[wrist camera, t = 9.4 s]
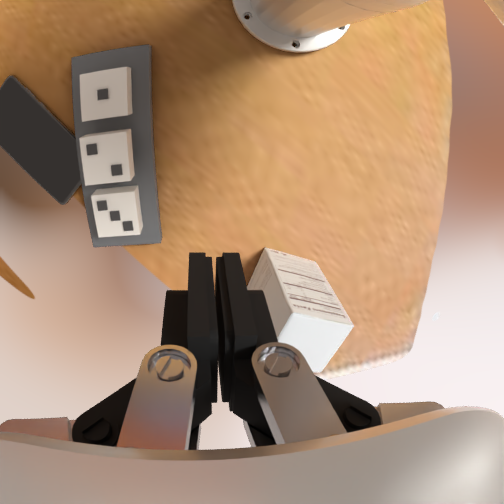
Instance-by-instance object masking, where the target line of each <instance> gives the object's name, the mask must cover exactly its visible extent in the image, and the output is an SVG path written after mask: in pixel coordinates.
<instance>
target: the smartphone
mask: <svg viewBox="0 0 504 504" xmlns="http://www.w3.org/2000/svg"><path fill="white" fill-rule="evenodd" d="M0 146H1V147H2V148H3V149H4V150H5V151H6V152H7V153H8V154H9V155H10V156H11V157H12V158H13V159H14V160H15V161H16V162H17V163H18V164H19V165H20V166H21V167H22V168H23V169H24V170H25V171H26V172H27V173H28V174H29V175H30V176H31V177H32V178H33V179H34V180H35V181H36V182H37V183H38V184H39V185H40V186H41V187H43V188H44V189H45V190H46V191H47V192H48V193H49V194H50V195H51V196H52V197H53V198H54V199H55V200H56V201H58V202H59V203H60V204H62V205H64V204H66V203H68V201H69V200H70V199H71V197H72V196H73V195H74V194H75V192H76V191H77V190H78V189H79V187H80V186H81V177H80V170H79V162H78V154H77V146H76V136H75V135H74V134H73V133H72V132H71V131H70V130H69V129H68V128H67V127H66V126H65V125H64V124H63V123H62V122H61V121H60V120H59V119H58V118H57V117H56V116H55V115H54V114H53V113H52V112H51V111H49V110H48V109H47V107H46V106H45V105H44V104H43V103H42V102H41V101H40V100H38V99H37V98H36V96H35V95H34V94H33V93H32V92H31V91H30V90H29V89H28V88H27V87H25V86H24V85H23V84H22V83H21V82H20V81H19V80H18V79H17V78H16V77H15V76H14V75H10V76H8V77H7V79H6V80H5V81H4V83H3V85H2V86H1V88H0Z"/></svg>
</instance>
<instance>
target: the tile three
mask: <svg viewBox="0 0 504 504" xmlns="http://www.w3.org/2000/svg"><path fill="white" fill-rule="evenodd" d="M91 200H92V206H93V211H94V217H95V222H96V227H97V232H98V237H113V236H128V235H140V234H141V231H142V228H143V222H142V214H141V206H140V198H139V189H138V185H135V186H124V187H114V188H104V189H96V190H95V192H94V193H93V194H92V195H91Z"/></svg>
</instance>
